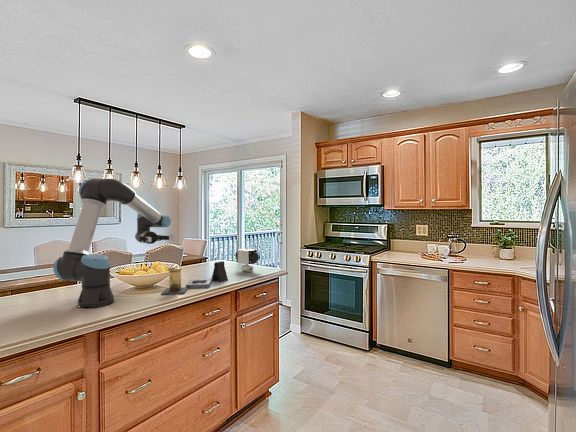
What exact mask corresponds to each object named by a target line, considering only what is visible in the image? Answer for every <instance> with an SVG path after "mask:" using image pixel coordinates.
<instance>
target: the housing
mask: <svg viewBox="0 0 576 432" xmlns="http://www.w3.org/2000/svg"><path fill="white" fill-rule="evenodd" d="M212 282H213V281H212V278H206V279H205V278H202V279H200V278H199V279H190V280H188V281H187V283H186V284H185V287H189V289H203V288H204V289H207V288H210V287H211V284H212Z"/></svg>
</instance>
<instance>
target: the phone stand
mask: <svg viewBox="0 0 576 432" xmlns="http://www.w3.org/2000/svg"><path fill="white" fill-rule="evenodd" d="M213 265H214V268H213V272H212V275H211V279H212V282H217V283H223V282H227V281H229V278H228V274H227V271H226V267H225V261H224V260H223V261H216V262H214V264H213Z"/></svg>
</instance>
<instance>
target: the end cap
mask: <svg viewBox="0 0 576 432" xmlns="http://www.w3.org/2000/svg"><path fill="white" fill-rule="evenodd" d="M167 271H168V275H169V276H168V277H169V279H168V280H169V281H168V282H169V287H168V288H170V291H172V292H174V291H180V290H181V287H182V273H181V271H182V267H179V266H177V267H176V266H175V267H170V268H168V269H167Z"/></svg>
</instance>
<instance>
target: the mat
mask: <svg viewBox="0 0 576 432" xmlns="http://www.w3.org/2000/svg"><path fill="white" fill-rule="evenodd" d="M189 289H190V288H189V287H186V286H184V287H183V286H181V290H180V291H174V292H172V291H170V288H169V287H166V288H165V289H164V290H162V292H161V293H160V295H161V296H171V295H173V294H174V295H185V294H186V293H187V291H188V290H189ZM174 295H173V296H174Z"/></svg>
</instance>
